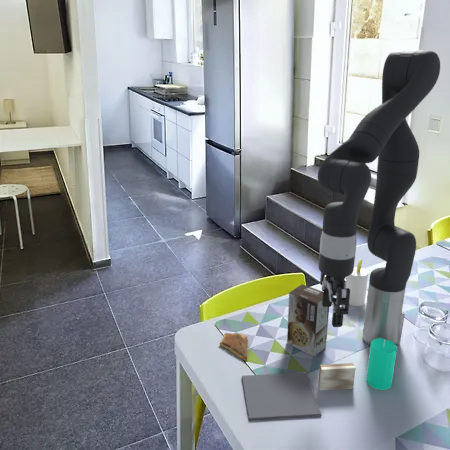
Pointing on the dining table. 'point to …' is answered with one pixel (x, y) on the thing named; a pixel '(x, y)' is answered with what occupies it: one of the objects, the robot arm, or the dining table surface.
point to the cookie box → (307, 320)
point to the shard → (236, 344)
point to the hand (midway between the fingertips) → (331, 315)
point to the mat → (279, 396)
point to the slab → (336, 376)
